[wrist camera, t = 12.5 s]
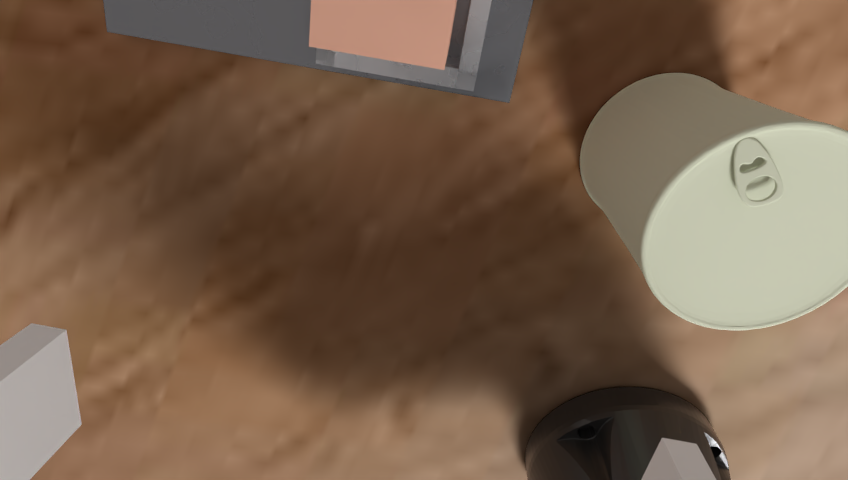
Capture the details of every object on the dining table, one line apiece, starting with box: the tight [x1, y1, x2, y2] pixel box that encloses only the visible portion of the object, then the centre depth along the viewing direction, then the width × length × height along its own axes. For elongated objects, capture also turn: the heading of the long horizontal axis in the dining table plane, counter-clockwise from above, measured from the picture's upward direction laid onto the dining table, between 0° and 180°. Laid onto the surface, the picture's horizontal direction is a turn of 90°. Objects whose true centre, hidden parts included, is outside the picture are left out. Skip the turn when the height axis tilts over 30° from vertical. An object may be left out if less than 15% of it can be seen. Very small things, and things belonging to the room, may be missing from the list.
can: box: [580, 73, 848, 330], centre depth 24 cm, size 9×9×12 cm
